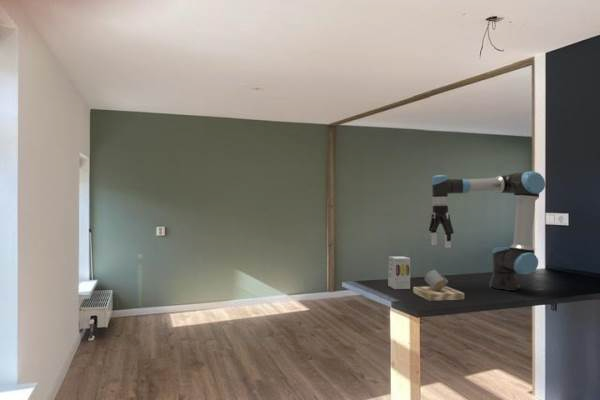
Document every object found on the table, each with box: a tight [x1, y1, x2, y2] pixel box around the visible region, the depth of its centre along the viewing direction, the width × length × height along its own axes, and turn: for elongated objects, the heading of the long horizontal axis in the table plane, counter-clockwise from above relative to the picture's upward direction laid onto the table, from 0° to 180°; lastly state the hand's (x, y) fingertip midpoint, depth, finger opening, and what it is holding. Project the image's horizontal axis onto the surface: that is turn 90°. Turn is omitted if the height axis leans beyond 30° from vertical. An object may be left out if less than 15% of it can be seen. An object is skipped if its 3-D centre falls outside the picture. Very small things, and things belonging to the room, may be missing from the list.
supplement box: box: [387, 255, 411, 290], centre depth 229 cm, size 10×9×17 cm
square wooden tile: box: [412, 285, 465, 302], centre depth 208 cm, size 18×18×3 cm
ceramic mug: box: [424, 269, 448, 291], centre depth 208 cm, size 11×8×8 cm
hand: (440, 246), depth 214 cm, fingers open, 13 cm apart
